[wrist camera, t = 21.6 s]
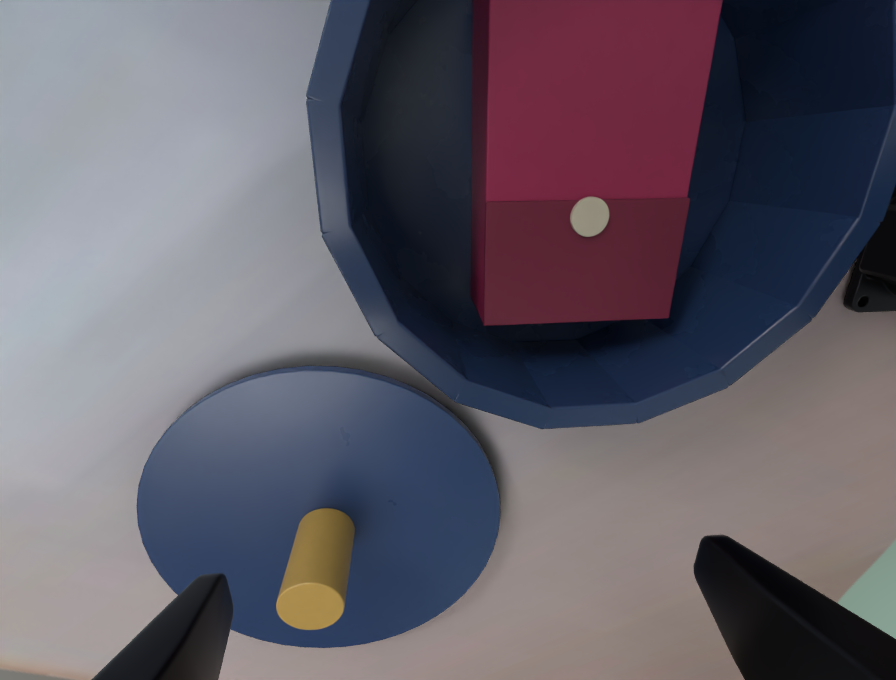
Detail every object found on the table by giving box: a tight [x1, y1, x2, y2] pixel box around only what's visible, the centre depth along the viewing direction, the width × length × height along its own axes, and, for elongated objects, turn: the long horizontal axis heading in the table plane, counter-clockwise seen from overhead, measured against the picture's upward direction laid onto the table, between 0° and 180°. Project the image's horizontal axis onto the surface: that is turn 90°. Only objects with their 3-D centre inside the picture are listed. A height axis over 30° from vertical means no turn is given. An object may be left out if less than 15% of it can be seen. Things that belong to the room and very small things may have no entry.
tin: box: [306, 0, 896, 429], centre depth 14 cm, size 16×16×6 cm
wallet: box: [470, 0, 723, 326], centre depth 15 cm, size 10×6×4 cm, turn 1°
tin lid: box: [137, 366, 500, 648], centre depth 20 cm, size 17×17×5 cm
